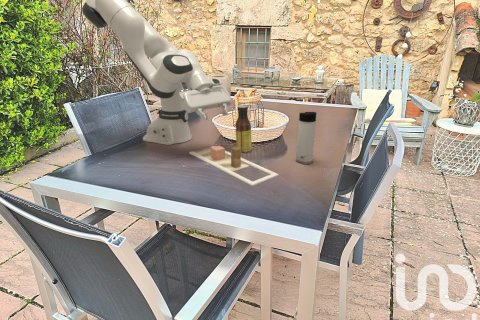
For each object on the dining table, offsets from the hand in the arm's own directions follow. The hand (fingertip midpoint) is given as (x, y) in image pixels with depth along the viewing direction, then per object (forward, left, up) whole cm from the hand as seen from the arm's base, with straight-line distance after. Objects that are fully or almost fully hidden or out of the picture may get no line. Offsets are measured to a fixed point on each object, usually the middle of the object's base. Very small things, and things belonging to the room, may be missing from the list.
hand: (216, 116), depth 122 cm
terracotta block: (+1, -1, -16) cm, 16 cm away
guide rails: (+7, -6, -17) cm, 20 cm away
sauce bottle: (+9, +9, -18) cm, 22 cm away
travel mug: (+34, +6, -18) cm, 38 cm away
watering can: (-28, +91, -18) cm, 97 cm away
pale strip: (+1, -2, -17) cm, 18 cm away
